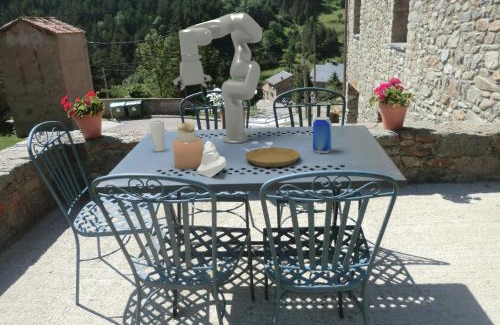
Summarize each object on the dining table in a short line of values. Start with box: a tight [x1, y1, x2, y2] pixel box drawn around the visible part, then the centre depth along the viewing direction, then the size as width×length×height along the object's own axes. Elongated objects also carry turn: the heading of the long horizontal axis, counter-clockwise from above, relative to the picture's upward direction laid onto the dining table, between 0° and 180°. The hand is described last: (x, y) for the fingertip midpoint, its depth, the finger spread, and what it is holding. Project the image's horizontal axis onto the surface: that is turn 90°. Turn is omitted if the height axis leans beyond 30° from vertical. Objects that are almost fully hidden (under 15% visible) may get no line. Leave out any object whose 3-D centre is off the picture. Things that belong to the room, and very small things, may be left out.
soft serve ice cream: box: [196, 140, 227, 179], centre depth 174 cm, size 12×15×14 cm
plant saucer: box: [245, 146, 301, 168], centre depth 188 cm, size 24×24×3 cm
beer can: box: [312, 116, 333, 154], centre depth 197 cm, size 8×8×16 cm
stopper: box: [177, 122, 196, 133], centre depth 184 cm, size 7×7×6 cm
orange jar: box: [171, 130, 204, 170], centre depth 186 cm, size 13×13×15 cm
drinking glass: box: [149, 119, 166, 153], centre depth 210 cm, size 7×7×15 cm
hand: (194, 97), depth 193 cm, fingers open, 9 cm apart
